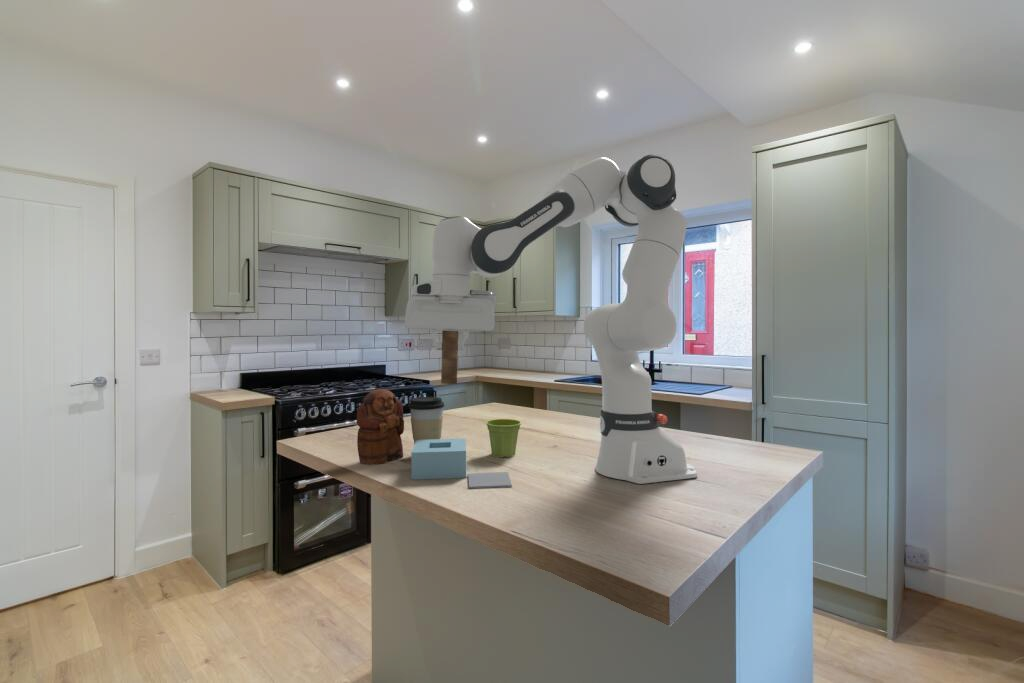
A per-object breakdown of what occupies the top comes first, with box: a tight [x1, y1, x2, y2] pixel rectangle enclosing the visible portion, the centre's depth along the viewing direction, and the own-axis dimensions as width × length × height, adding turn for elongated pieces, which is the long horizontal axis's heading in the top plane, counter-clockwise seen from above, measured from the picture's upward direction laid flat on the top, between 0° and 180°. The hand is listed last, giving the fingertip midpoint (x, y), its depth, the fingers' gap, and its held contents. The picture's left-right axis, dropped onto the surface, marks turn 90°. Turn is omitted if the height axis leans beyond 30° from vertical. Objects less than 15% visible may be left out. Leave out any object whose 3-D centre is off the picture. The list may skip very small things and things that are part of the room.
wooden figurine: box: [355, 388, 405, 465], centre depth 123 cm, size 12×6×18 cm, turn 142°
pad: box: [467, 471, 513, 489], centre depth 106 cm, size 9×9×1 cm
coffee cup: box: [407, 396, 445, 446], centre depth 126 cm, size 9×9×15 cm
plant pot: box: [485, 418, 522, 458], centre depth 127 cm, size 9×9×9 cm
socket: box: [410, 438, 467, 480], centre depth 113 cm, size 12×12×6 cm
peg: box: [440, 329, 459, 385], centre depth 110 cm, size 4×4×12 cm
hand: (449, 349), depth 110 cm, fingers closed on peg, 4 cm apart
